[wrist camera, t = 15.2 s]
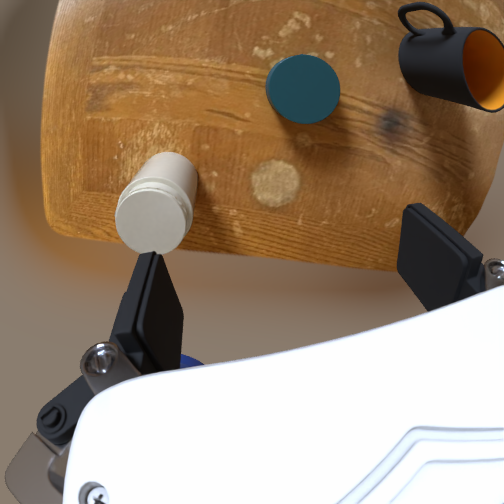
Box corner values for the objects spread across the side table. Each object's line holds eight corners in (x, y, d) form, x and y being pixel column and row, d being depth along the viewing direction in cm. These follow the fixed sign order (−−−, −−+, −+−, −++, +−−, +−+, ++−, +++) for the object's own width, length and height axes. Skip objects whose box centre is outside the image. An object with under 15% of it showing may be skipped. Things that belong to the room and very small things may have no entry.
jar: (207, 164, 30) (204, 202, 21) (185, 217, 33) (176, 270, 24) (149, 143, 28) (122, 173, 19) (131, 197, 30) (103, 245, 22)
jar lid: (263, 55, 24) (266, 54, 22) (331, 56, 24) (339, 55, 23) (267, 122, 28) (271, 125, 26) (333, 120, 28) (340, 123, 26)
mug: (401, -7, 20) (461, -21, 11) (460, 70, 25) (521, 82, 16) (361, 31, 23) (419, 20, 14) (427, 109, 28) (488, 130, 19)
